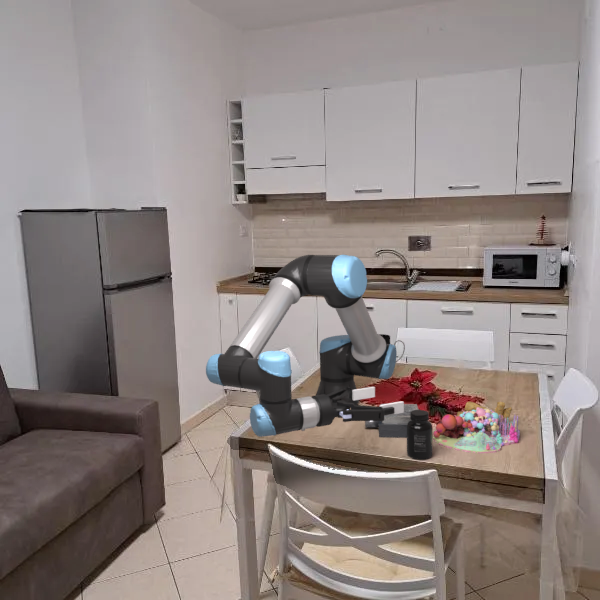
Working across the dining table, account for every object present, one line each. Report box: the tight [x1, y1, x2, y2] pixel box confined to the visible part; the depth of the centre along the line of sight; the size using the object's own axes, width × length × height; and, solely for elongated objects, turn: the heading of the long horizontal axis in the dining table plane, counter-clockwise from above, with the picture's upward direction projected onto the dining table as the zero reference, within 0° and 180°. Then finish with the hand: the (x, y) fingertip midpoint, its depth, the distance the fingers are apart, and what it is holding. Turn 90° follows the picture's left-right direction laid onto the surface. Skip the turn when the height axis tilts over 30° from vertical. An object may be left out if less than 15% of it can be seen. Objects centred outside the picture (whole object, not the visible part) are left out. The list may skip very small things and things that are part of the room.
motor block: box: [364, 403, 421, 439], centre depth 168 cm, size 17×13×6 cm
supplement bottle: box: [406, 409, 434, 461], centre depth 149 cm, size 7×7×12 cm
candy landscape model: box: [433, 401, 521, 454], centre depth 161 cm, size 25×24×9 cm
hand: (388, 398), depth 143 cm, fingers open, 13 cm apart
